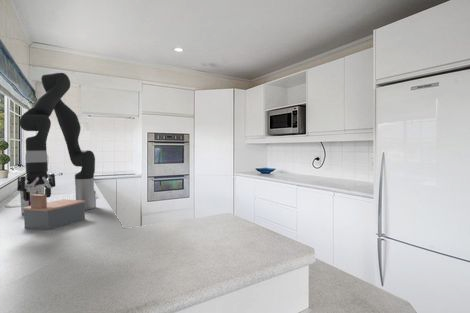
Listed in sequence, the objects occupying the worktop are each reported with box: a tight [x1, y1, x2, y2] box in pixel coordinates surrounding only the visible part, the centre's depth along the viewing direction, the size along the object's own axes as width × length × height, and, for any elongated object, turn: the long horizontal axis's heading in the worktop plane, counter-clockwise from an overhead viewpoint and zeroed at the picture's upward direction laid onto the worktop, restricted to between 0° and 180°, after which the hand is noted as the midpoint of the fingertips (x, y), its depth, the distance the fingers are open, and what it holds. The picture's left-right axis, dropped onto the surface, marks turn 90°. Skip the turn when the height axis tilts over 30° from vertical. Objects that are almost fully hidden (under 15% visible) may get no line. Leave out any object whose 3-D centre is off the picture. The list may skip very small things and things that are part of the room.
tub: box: [23, 203, 86, 231], centre depth 120 cm, size 18×14×8 cm
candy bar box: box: [19, 182, 45, 215], centre depth 145 cm, size 11×5×16 cm, turn 179°
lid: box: [22, 194, 86, 211], centre depth 120 cm, size 19×15×8 cm
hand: (37, 199), depth 112 cm, fingers open, 8 cm apart
